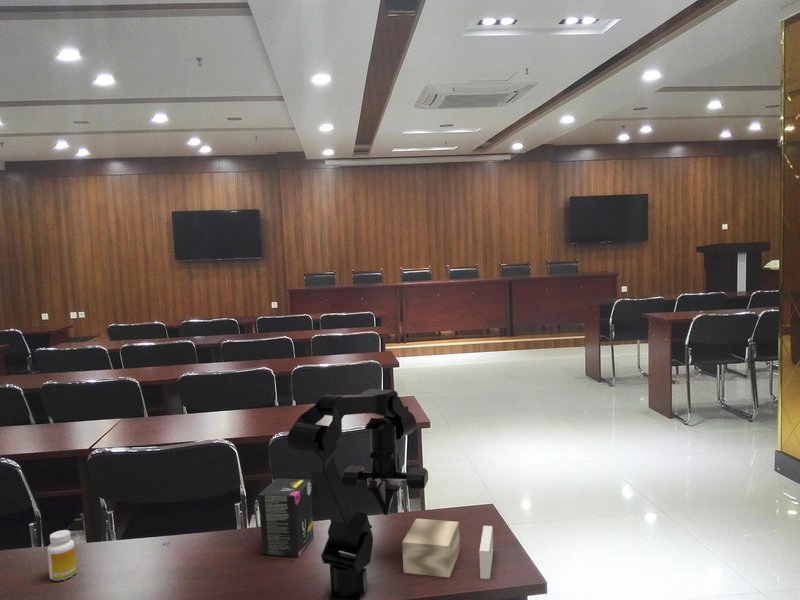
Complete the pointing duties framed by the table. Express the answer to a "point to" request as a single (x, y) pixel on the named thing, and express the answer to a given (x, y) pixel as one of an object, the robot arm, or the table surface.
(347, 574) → the robot arm
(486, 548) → the bar
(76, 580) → the table surface
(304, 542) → the tampon box
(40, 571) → the table surface
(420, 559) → the block
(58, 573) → the supplement bottle
